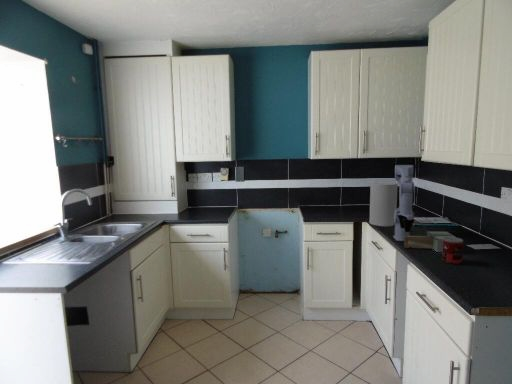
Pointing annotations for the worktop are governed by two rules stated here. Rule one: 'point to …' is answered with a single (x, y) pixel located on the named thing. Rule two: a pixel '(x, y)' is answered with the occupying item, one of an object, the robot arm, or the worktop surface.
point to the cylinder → (383, 203)
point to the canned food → (452, 250)
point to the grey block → (438, 239)
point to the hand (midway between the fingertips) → (405, 230)
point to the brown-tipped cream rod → (418, 241)
